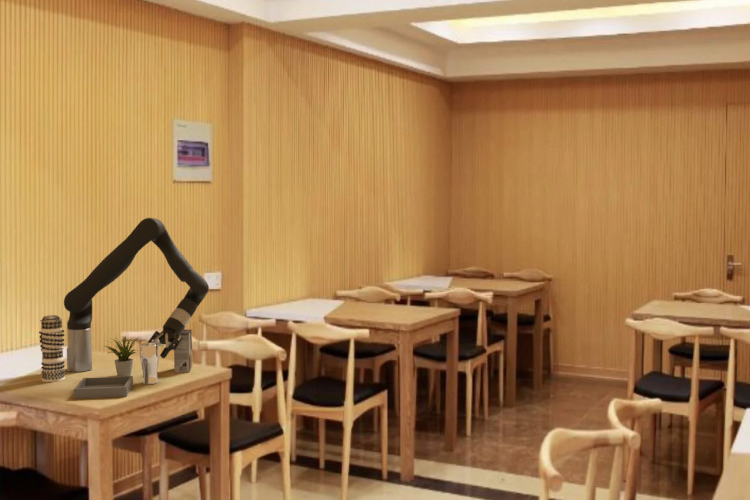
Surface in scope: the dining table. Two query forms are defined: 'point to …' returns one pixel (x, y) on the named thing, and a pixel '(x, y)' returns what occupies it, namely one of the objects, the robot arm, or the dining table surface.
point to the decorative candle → (52, 348)
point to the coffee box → (184, 353)
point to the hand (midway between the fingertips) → (154, 355)
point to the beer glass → (149, 362)
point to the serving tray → (103, 387)
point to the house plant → (123, 357)
